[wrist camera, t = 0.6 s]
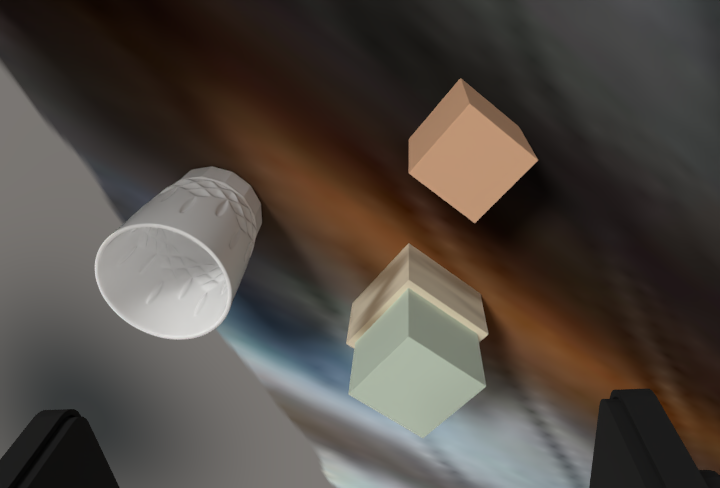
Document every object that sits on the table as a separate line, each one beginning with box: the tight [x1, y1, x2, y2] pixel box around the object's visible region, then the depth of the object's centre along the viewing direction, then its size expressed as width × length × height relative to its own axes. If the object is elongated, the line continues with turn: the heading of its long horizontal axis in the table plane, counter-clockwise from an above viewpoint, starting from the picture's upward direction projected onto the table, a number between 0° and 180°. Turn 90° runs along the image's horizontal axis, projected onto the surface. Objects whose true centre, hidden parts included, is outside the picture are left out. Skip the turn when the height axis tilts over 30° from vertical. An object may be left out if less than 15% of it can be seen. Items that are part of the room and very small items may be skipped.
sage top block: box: [349, 288, 486, 438], centre depth 35 cm, size 6×6×5 cm
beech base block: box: [346, 243, 488, 348], centre depth 40 cm, size 7×7×5 cm
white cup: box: [95, 166, 262, 340], centre depth 35 cm, size 8×8×10 cm
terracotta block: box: [409, 78, 538, 223], centre depth 33 cm, size 5×5×6 cm
